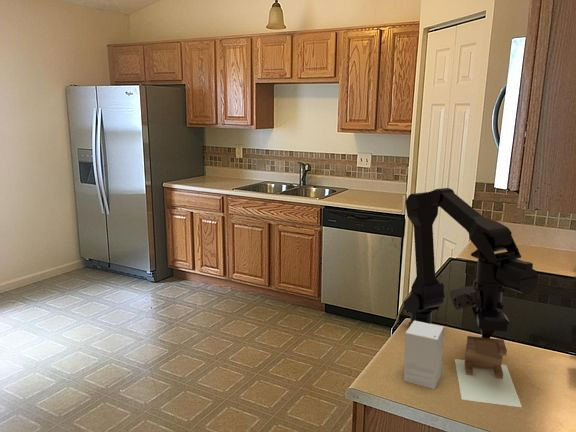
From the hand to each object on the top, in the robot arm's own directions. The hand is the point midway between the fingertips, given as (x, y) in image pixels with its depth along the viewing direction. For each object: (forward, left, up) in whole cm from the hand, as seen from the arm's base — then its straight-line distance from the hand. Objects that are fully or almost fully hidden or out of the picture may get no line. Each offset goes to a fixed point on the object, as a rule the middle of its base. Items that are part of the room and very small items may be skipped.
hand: (484, 340), depth 111 cm
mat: (+5, 0, -8) cm, 9 cm away
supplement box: (+7, -14, -8) cm, 18 cm away
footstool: (+2, 0, -7) cm, 7 cm away
